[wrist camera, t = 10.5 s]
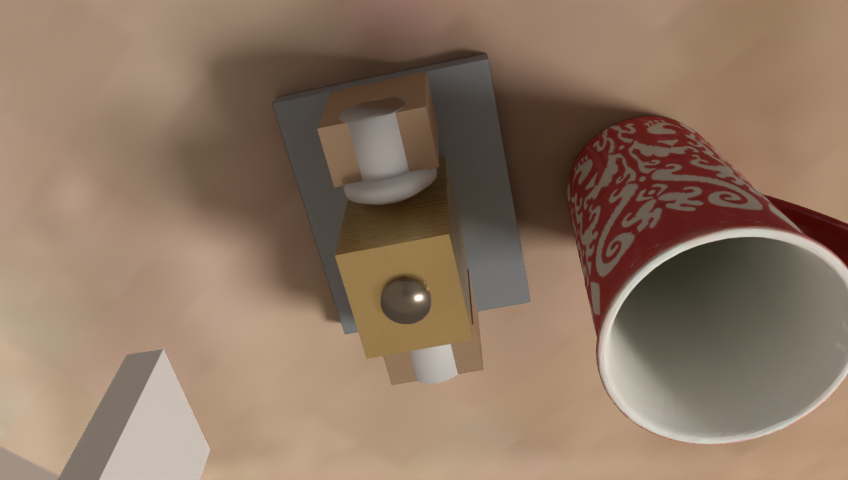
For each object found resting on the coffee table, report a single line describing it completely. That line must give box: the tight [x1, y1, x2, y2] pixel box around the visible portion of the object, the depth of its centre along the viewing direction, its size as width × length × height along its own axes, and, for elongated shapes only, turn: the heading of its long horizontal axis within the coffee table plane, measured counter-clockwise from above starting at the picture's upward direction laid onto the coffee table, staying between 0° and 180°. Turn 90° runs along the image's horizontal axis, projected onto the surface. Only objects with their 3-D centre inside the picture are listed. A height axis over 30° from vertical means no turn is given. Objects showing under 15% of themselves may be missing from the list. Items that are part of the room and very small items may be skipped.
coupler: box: [335, 156, 473, 358], centre depth 34 cm, size 5×4×8 cm
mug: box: [567, 116, 848, 445], centre depth 32 cm, size 13×9×14 cm
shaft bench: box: [273, 53, 531, 385], centre depth 35 cm, size 13×10×7 cm
